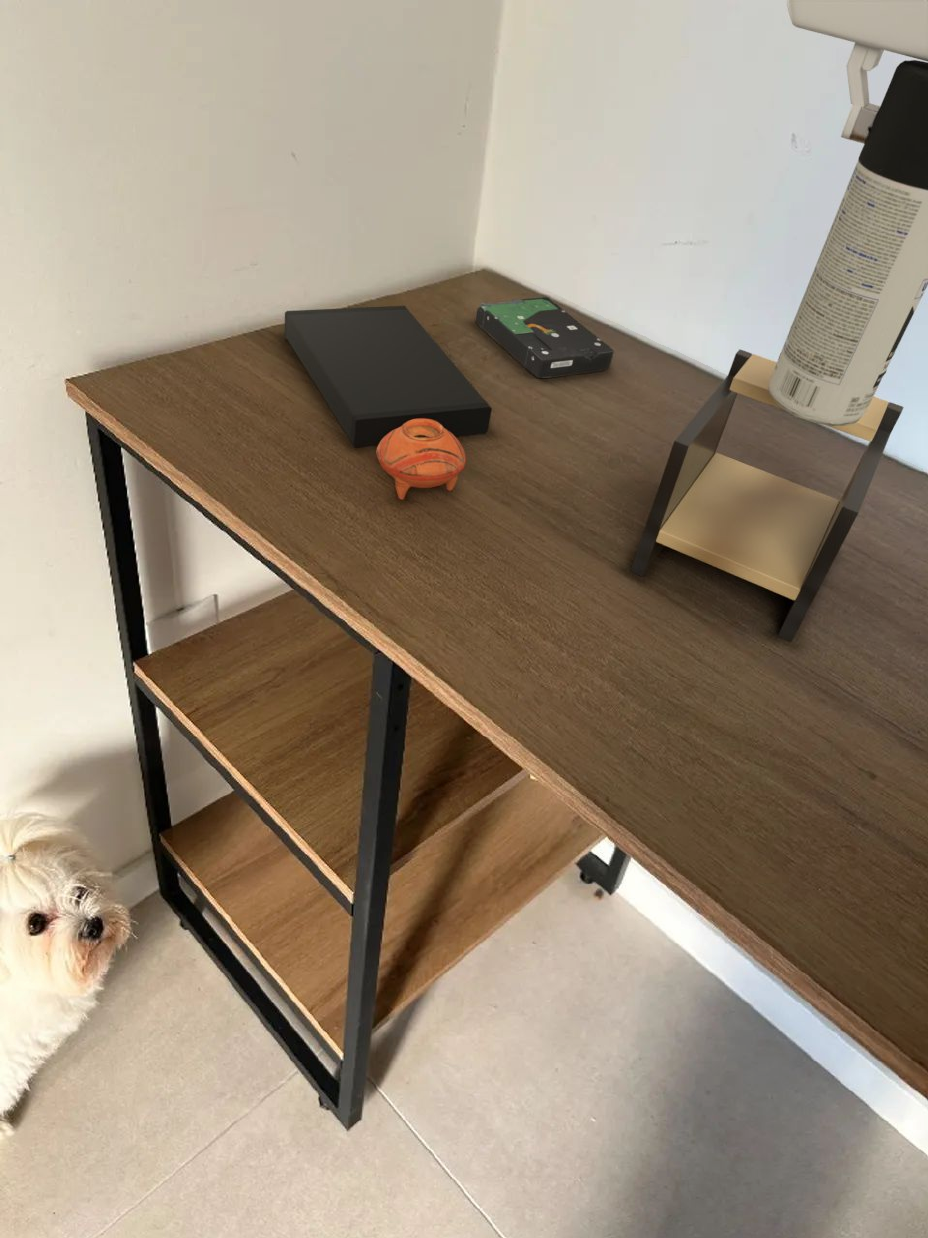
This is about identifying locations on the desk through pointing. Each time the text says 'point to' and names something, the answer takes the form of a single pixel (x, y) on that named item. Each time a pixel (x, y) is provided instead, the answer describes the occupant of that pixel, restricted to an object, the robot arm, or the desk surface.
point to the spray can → (864, 268)
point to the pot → (421, 456)
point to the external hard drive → (383, 372)
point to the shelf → (756, 500)
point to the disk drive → (544, 337)
